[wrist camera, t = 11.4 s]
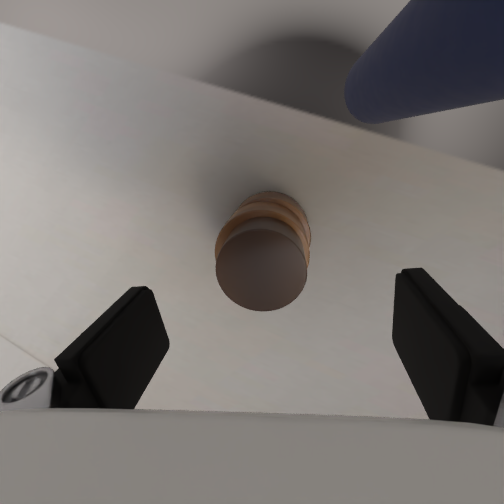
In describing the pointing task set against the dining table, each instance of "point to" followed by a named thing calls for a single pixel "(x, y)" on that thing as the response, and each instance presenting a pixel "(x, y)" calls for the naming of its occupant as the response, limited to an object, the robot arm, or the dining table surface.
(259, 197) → the pile chip bottom
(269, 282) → the walnut chip
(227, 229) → the pile chip top
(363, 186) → the dining table surface
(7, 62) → the dining table surface
